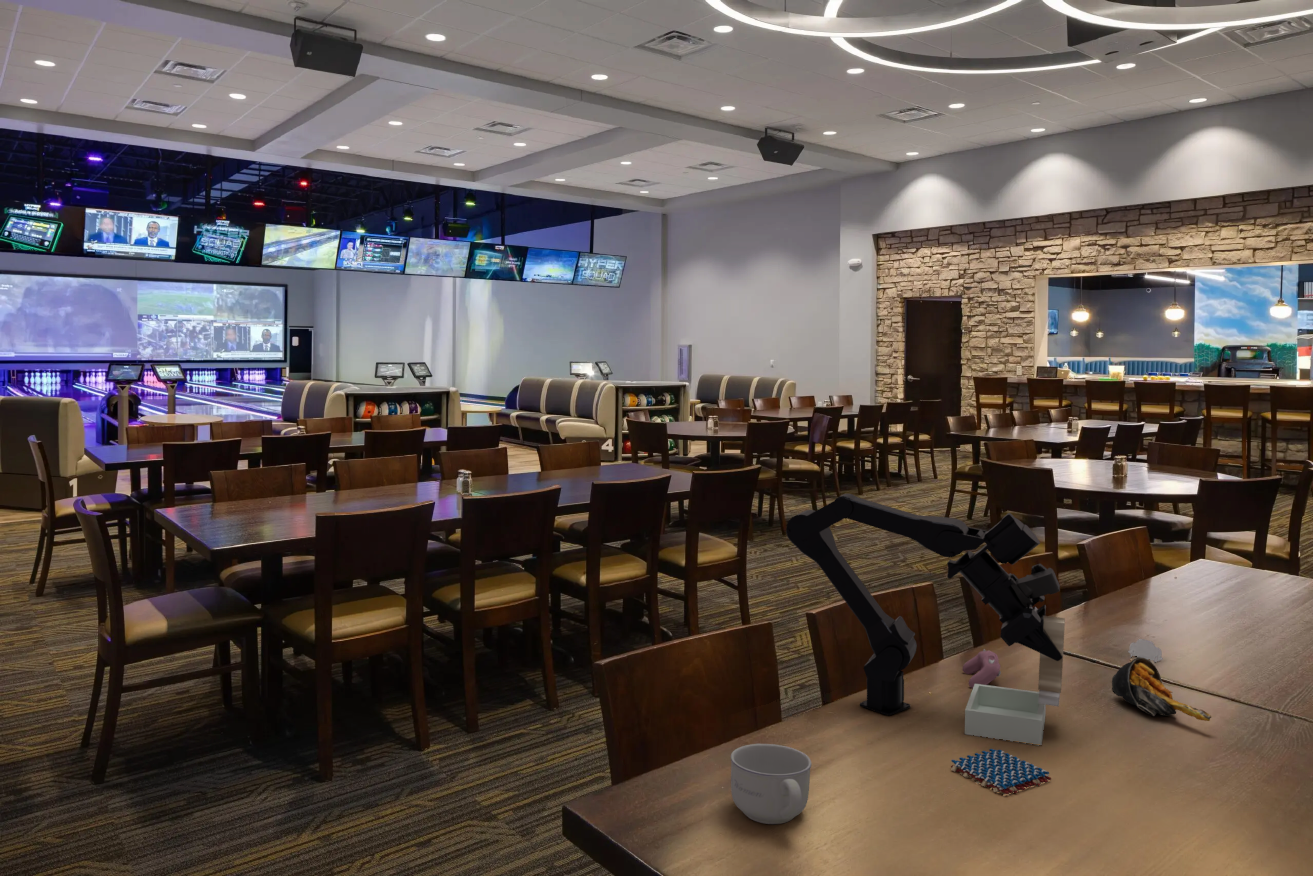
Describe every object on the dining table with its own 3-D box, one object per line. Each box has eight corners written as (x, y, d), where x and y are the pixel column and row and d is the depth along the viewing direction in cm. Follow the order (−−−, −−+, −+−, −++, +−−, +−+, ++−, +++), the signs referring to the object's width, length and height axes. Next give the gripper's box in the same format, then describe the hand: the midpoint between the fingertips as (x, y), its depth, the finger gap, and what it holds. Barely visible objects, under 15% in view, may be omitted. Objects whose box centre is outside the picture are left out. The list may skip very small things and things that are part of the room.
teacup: (725, 797, 129) (724, 742, 128) (800, 793, 130) (800, 738, 129) (742, 848, 115) (742, 787, 114) (827, 843, 116) (827, 782, 115)
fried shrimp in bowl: (1133, 666, 168) (1230, 661, 153) (1134, 727, 164) (1232, 728, 149) (1098, 653, 165) (1193, 646, 150) (1098, 715, 161) (1195, 715, 145)
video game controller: (989, 698, 170) (1008, 666, 169) (967, 686, 170) (985, 654, 169) (981, 680, 180) (998, 650, 178) (959, 669, 180) (977, 639, 179)
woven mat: (1004, 802, 127) (1004, 788, 127) (947, 773, 137) (947, 759, 136) (1055, 785, 132) (1055, 772, 132) (996, 758, 141) (997, 745, 141)
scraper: (1060, 706, 146) (1064, 627, 144) (1036, 703, 147) (1040, 624, 146) (1061, 690, 153) (1065, 614, 152) (1039, 687, 154) (1043, 612, 153)
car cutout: (1169, 661, 186) (1170, 640, 186) (1156, 668, 182) (1157, 646, 182) (1095, 645, 198) (1095, 625, 197) (1081, 652, 193) (1081, 631, 193)
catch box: (1041, 746, 145) (1041, 720, 144) (964, 734, 150) (965, 709, 149) (1045, 716, 157) (1045, 692, 156) (974, 706, 162) (974, 683, 161)
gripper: (1026, 562, 141) (1102, 642, 137) (1033, 541, 158) (1100, 612, 154) (971, 606, 145) (1043, 685, 141) (983, 581, 162) (1047, 650, 158)
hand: (1060, 656), depth 149 cm, fingers closed on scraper, 3 cm apart
